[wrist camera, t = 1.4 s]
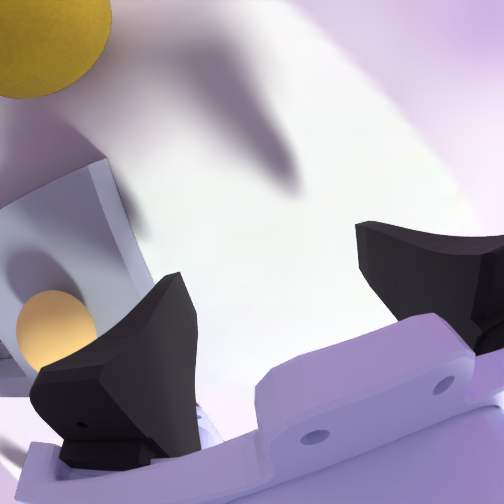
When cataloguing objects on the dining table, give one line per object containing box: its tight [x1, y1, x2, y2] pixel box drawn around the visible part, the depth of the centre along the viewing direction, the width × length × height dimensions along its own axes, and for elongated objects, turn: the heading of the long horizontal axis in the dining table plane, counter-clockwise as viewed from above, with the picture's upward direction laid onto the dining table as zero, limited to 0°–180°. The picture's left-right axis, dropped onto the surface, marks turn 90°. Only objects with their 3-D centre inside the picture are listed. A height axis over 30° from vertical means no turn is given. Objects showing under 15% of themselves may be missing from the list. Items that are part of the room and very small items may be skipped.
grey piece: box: [0, 158, 155, 397], centre depth 13 cm, size 12×20×4 cm, turn 104°
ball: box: [16, 290, 97, 372], centre depth 11 cm, size 4×4×4 cm
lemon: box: [0, 0, 112, 99], centre depth 6 cm, size 6×6×8 cm
